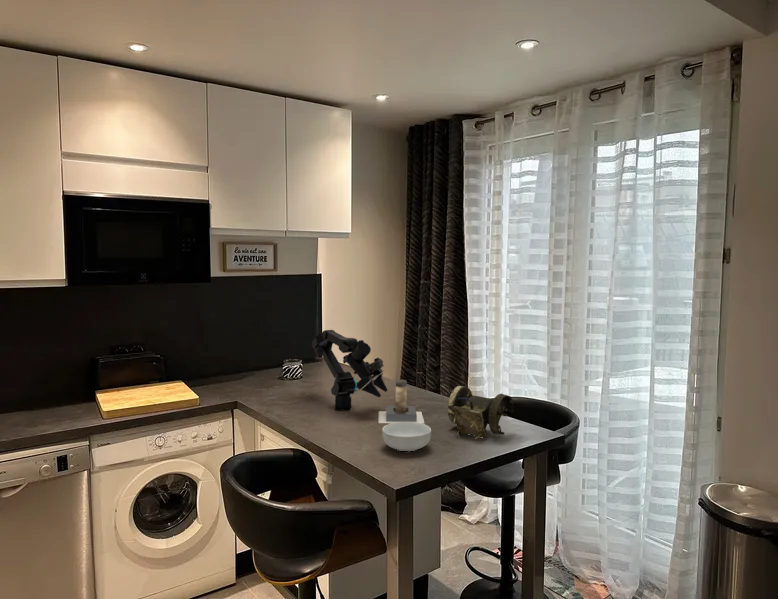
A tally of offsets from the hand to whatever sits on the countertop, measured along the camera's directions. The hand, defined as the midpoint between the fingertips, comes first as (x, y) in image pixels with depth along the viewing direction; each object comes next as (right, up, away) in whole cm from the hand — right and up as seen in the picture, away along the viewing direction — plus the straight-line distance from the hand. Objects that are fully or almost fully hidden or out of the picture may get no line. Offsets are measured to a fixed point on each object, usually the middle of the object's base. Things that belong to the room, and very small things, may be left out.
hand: (383, 393), depth 226 cm
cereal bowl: (+8, -13, -35) cm, 39 cm away
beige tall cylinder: (+7, -9, -1) cm, 12 cm away
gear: (-17, -6, +43) cm, 46 cm away
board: (+7, -10, -1) cm, 12 cm away
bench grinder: (+35, -12, -19) cm, 41 cm away
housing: (+7, -9, -2) cm, 12 cm away
